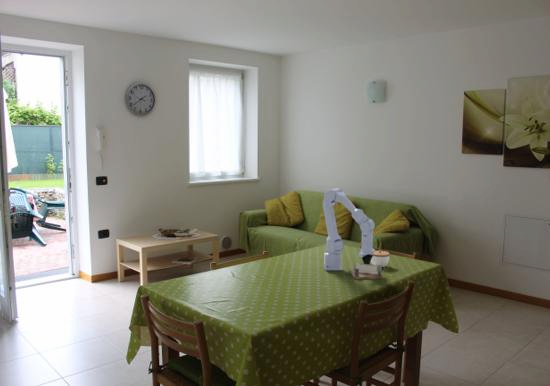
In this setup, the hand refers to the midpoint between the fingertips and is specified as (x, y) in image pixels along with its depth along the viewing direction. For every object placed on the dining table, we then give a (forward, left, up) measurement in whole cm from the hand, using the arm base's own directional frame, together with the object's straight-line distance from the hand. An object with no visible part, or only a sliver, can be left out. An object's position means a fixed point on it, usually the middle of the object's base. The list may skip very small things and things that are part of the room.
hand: (366, 268), depth 257 cm
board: (0, -1, -3) cm, 3 cm away
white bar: (0, -2, -2) cm, 2 cm away
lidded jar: (+11, +17, -4) cm, 20 cm away
